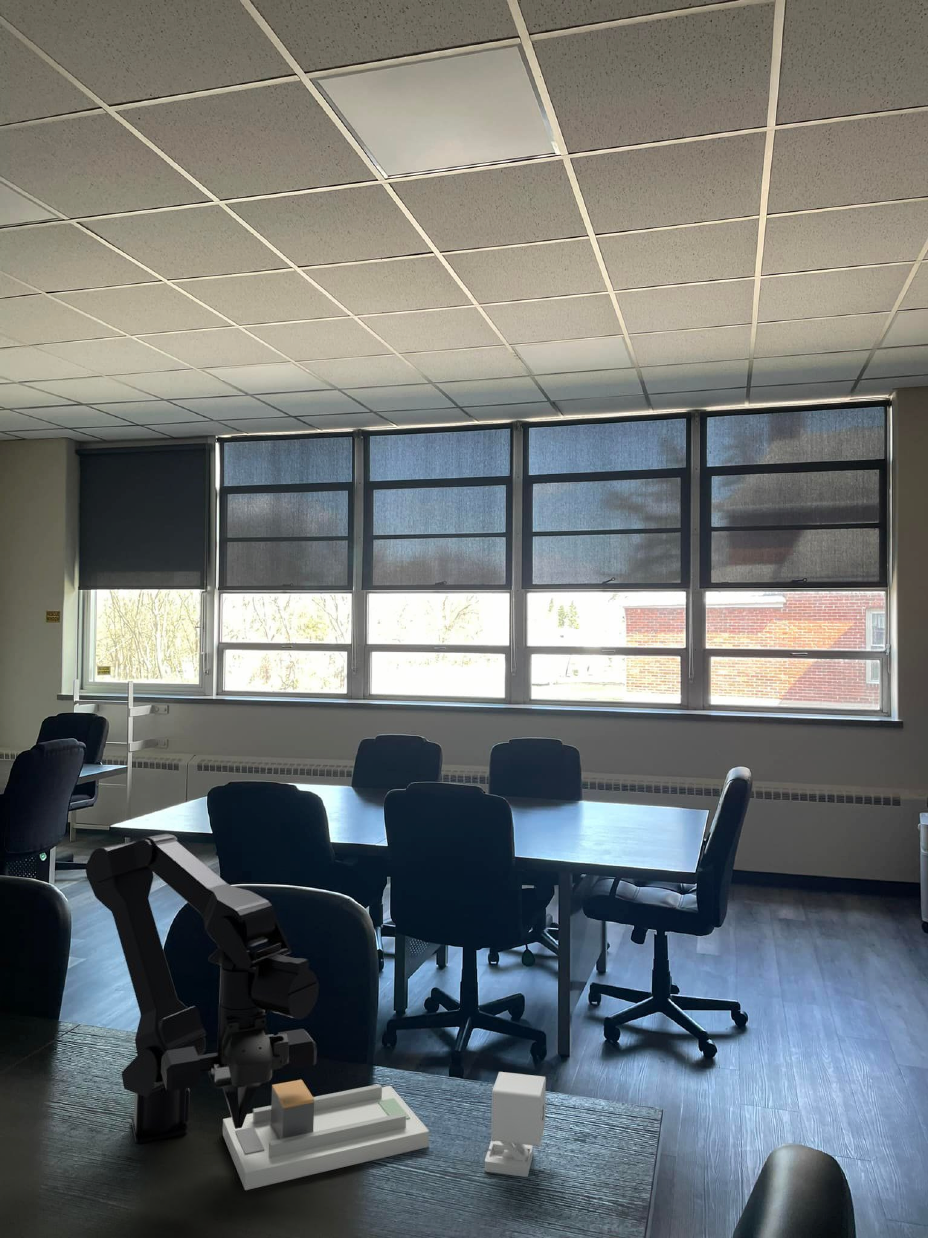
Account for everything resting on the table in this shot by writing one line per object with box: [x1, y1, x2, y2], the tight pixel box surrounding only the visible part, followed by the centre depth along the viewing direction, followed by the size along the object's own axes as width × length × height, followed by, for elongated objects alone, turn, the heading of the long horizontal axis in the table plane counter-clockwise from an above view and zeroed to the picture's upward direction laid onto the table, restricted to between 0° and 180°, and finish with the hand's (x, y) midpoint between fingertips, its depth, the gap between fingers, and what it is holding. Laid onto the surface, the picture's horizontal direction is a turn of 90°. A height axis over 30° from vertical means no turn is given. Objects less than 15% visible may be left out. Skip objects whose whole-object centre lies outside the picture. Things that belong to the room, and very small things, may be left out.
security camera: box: [484, 1071, 547, 1178], centre depth 113 cm, size 6×7×10 cm
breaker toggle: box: [270, 1079, 314, 1139], centre depth 115 cm, size 4×6×5 cm, turn 26°
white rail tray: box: [222, 1083, 430, 1191], centre depth 117 cm, size 24×14×4 cm, turn 116°
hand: (237, 1127), depth 112 cm, fingers closed
